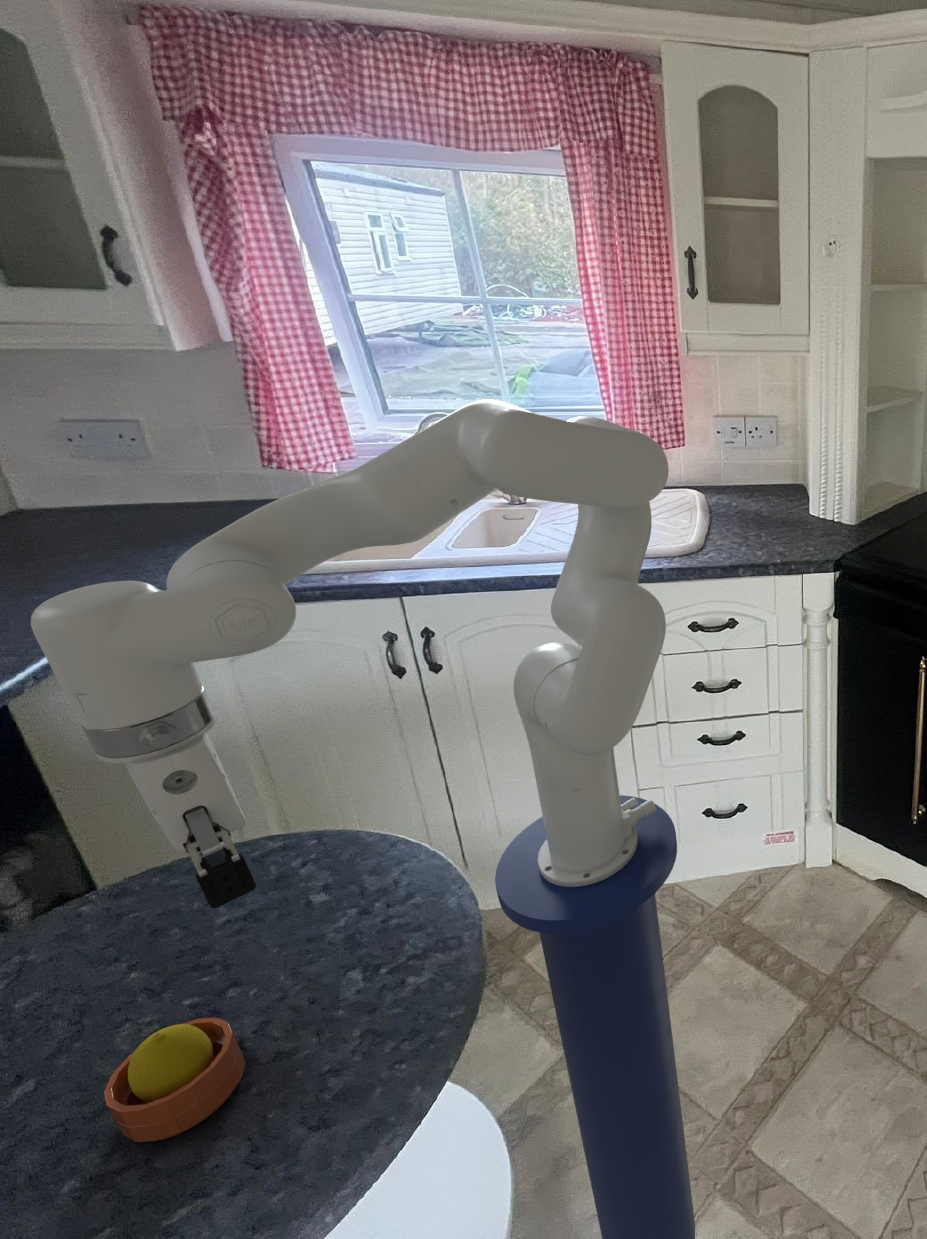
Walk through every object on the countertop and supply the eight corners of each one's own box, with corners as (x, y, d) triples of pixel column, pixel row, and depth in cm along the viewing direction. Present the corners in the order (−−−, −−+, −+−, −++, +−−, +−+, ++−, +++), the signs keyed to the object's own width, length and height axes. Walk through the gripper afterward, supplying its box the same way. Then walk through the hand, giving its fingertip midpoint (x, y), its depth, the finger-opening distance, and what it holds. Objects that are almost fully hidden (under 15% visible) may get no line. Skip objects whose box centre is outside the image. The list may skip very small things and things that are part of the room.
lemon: (235, 1079, 71) (209, 1023, 68) (161, 1134, 67) (129, 1077, 64) (208, 1052, 74) (181, 996, 71) (134, 1103, 69) (102, 1046, 66)
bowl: (235, 1034, 76) (220, 1001, 74) (256, 1091, 71) (240, 1056, 69) (118, 1100, 70) (99, 1066, 68) (132, 1168, 65) (111, 1132, 63)
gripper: (233, 741, 60) (297, 893, 67) (189, 669, 70) (249, 807, 77) (104, 789, 55) (187, 948, 62) (77, 703, 65) (151, 848, 72)
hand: (221, 870), depth 69 cm, fingers open, 9 cm apart
